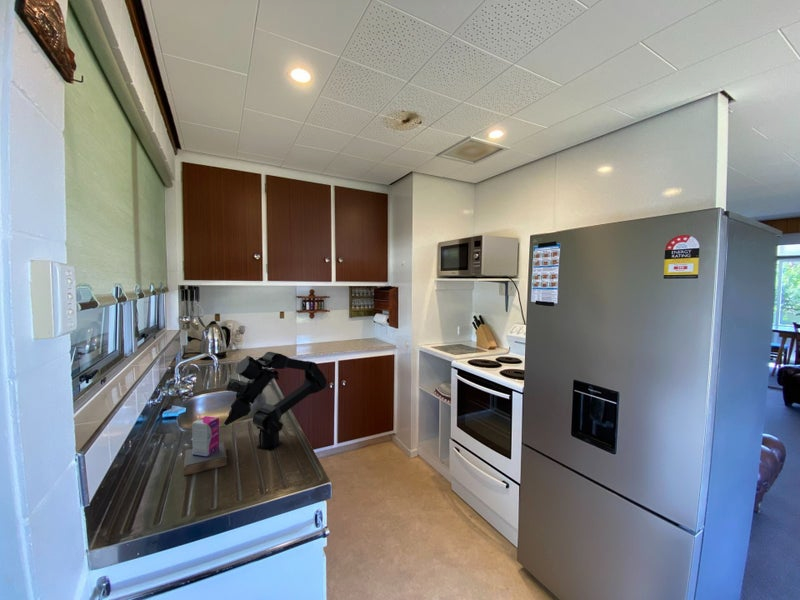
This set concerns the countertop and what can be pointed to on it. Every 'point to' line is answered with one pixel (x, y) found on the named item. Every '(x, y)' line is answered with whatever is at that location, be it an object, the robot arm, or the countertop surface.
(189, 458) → the walnut base
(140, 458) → the countertop surface
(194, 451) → the supplement box
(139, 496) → the countertop surface
